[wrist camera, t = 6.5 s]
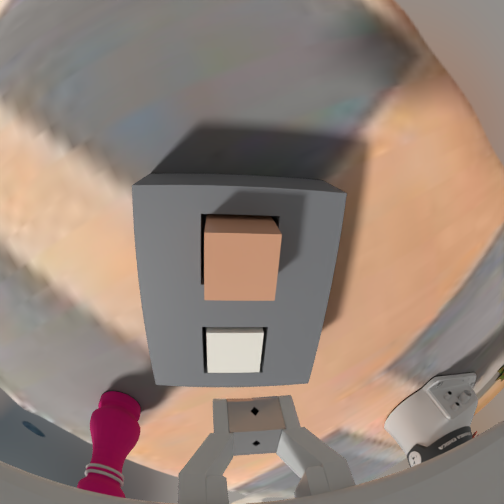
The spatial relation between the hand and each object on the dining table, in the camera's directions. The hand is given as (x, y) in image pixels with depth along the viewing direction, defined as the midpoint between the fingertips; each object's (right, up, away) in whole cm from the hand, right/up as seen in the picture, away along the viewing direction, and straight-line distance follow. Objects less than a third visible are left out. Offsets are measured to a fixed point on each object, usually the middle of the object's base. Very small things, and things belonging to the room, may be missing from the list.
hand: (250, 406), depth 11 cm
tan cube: (-1, +7, +14) cm, 16 cm away
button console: (-2, +4, +20) cm, 20 cm away
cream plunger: (-2, -1, +21) cm, 21 cm away
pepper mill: (-19, -16, +27) cm, 37 cm away
